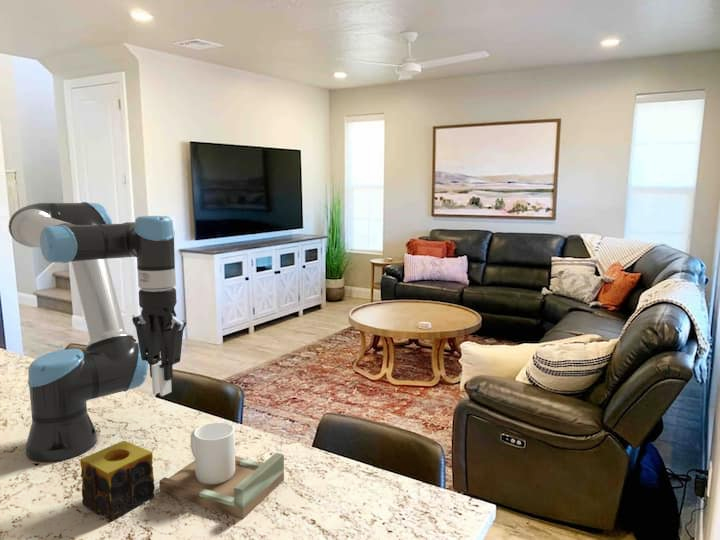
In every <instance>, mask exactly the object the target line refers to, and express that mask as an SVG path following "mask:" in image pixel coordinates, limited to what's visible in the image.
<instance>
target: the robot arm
mask: <svg viewBox="0 0 720 540" xmlns="http://www.w3.org/2000/svg"><path fill="white" fill-rule="evenodd" d="M8 231H9V234H10V236H11V237H12V239H13V240H14V241H15V242H17V243H18V244H20V245H22V246H24V247H29V248H40V250H41V254H42V256H43V258H44V260H45V261H46V262H47V263H52V264H53V263H61V264H67V263H70V262H71V266H72V269H73V274H74V277H75V281H76V286H77V290H78V294H79V299H80V303H81V307H82V310H83V311H82V312H83V314H84V319H85V325H86V327H87V331H88V336H89V339H90V340H89V342H88V343H87V344H86V346H85V352H86V353H85V352H83V351H82V350H81V349H79V348H68V349H65V348H63V349H59V350H58V349H57V350H55V351H54V350H53V351H51V352H48V353H46V354H43V355H41V356H38V357H37V358H36V359H34V360H33V361H32V362H30V364H29V367H28V369H27V370H28V373H27V374H28V380H27V385H28V390H29V400H30V409H31V410H30V413H31V421H32V422H31V425H30V429H29V433H28V437H27V440H26V443H25V453H26V454H25V455H26V457H27V458H28V459H29V460H32V461H35V462H44V463H45V462H46V463H47V462H57V461H62V460H66V459H67V460H68V459H71V458H75V457H76V456H77V457H78V456H79V455H83V454H84V453H86V452H87V451H89V450H90V449H92V448H93V447H94V446H95V445H96V444H97V441H98V438H97V437H98V436H97V431H96V428H95V426H94V423H93V421H92V419H91V417H90V416H89V413H88V408H87V405H88V404H87V403H88V402H87V401H90V400H94V399H100V398H103V397H106V396H110V395H114V394H117V393H122V392H128V391H129V390H133V389H136V388H139V387H141V385H143V384H144V382H145V381H146V378H147V375H148V370H149V375H150V378H151V383H152V385H151V387H152V395H157V394H159V396H160V397H164V396H165V395H168V394H170V393H172V392H173V391H172V380H173V378H174V373H173V371H174V370H173V368H174V367H173V366H174V365H175V364H177V363H180V362H181V354H182V345H183V338H184V337H183V335H184V331H185V328H186V326H187V322H186V320H180V318H178V317H177V312H176V311H175V307H176V305H177V302H178V301H177V290H176V288H175V287H176V286H177V282H176V281H177V280H176V262H175V261H176V259H175V258H176V257H175V254H176V253H175V231H174V223H173V219H172V218H171V217H170V216H168V215H167V216H166V215H142V216H140V215H139V216H137V217H136V219H135V221H132V222H131V221H130V222H127V221H126V222H122V223H113V219H112V218H111V215H110V213H109V212H108V210H107V209H106V208H105V206H103V205H102V204H99V203H96V202H87V201H83V202H82V201H81V202H61V203H60V202H40V203H39V202H38V203H34V204H28V205H26V206H23V207H21V208H20V209H18V210H16V211H15V212H14V213H13V214H12V215H11V217H10V219H9V220H8ZM118 258H119V259H122V258H123V259H124V258H125V259H126V258H136V262H137V266H136V267H137V279H138V280H137V282H138V285H137V286H138V288H140V290H139V291H138V301H139V303H138V305H139V307H140V308H141V311H140V312H141V313H140V314H139V315H137V316H134V317H132V322H133V324H134V327H135V330H136V337H137V341H138V342H135V338H134V335H133V334H131V333H129V332H127V331H126V329H125V324H124V321H123V316H122V313H121V310H120V309H121V308H120V305H119V300H118V298H117V293H116V290H115V285H114V283H113V278H112V274H111V270H110V266H109V262H108V260H110V259H118ZM148 368H149V369H148Z"/></svg>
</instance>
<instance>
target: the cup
mask: <svg viewBox="0 0 720 540" xmlns="http://www.w3.org/2000/svg"><path fill="white" fill-rule="evenodd" d="M235 438H236V437H235V427H234V426H233V424H230V423H228V422H221V421H220V422H219V421H218V422H210V423H205V424H202V425H201V426H199V427H197V428H195V429H193V430H192V432H191V434H190V450H191V453H192V456H193V457H194V461H195V472H196V478H197V479H198V481H199V482H201V483H203V484H208V485H214V484H220V483H223V482H226V481H228V480H229V479H231V478H232V476H233V475H234V473H235V456H236V447H235V445H236V444H235V441H236V440H235Z"/></svg>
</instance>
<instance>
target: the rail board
mask: <svg viewBox="0 0 720 540" xmlns="http://www.w3.org/2000/svg"><path fill="white" fill-rule="evenodd" d="M284 481H285V455H284V454H283V453H278V452H275V453H274V454H273V455H272V456H270V457H269V458H268V459H266V460H265V461H264V462H261V461H256V460H254V459H253V460H252V459H248V458H244V457H240V456H237V455H235V473H234V475H233V476H232V478H231V479H229V480H228V481H226V482H223V483H220V484H214V485H208V484H203V483H201V482H199V481H198V479H197V478H196V472H195V460H193V461H191V462H190V463H189V464H187V465H186V466H184V467H183V468H182V469H180V470H179V471H176V472H175V473H174V474H173V475H171V476H169V477H163V478H161V479H159V481H158V482H159V483H158V484H159V494H161V495H164V496H168V497H171V498H175V499H178V500H181V501H183V502H188V503H191V504H193V505H197V506H201V507H203V508H207V509H210V510H214V511H217V512H219V513H224V514H226V515H229V516H233V517H235V518H239V519H244V518H246V517H247V516H248V515H249V514H250V513H251V512H252V511H253V510H254V509H255V508H256V507H257V506H259V504H260V503H261V502H263V501H264V500H265V499H266V498H267V497H268V496H269V495H270V494H271V493H273V491H274V490H275V489H276V488H277V487H278V486H279V485H281V484H282V482H284Z"/></svg>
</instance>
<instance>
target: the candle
mask: <svg viewBox="0 0 720 540" xmlns="http://www.w3.org/2000/svg"><path fill="white" fill-rule="evenodd" d="M79 462H80V469H81V470H80V471H81V472H80V473H81V475H80V477H81V496H82V500H81V502H82V506H84V507H85V508H87V509H89V510H90V511H92V512H93V513H95V514H97V515H98V516H99V515H100V516H103V517H104V518H105V519H106V520H108V521H110V522H112V521H114V520H115V519H118V518H119V517H121V516H124V515H125V514H127V513H128V512H130V511H133V509H136V508H137V507H139V506H140V505H142V504H144V503H146V502H147V501H149V500H151V499H153V498H154V497H155V478H154V467H153V464H154V463H153V462H154V461H153V452H152V451H150V450H148V449H146V448H143V447H140V446H138V445H135V444H134V443H132V442H129V441H126V440H122V441H119V442H116V443H115V444H113V445H110V446H108V447H105V448H103V449H101V450H99V451H96V452H94V453H93V454H89V455H88V456H84V457H82V458H80V460H79Z"/></svg>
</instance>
